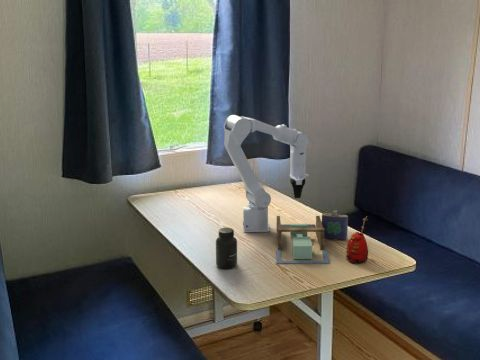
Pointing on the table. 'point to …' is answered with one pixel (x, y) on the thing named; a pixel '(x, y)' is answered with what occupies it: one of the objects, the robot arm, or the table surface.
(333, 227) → the flask
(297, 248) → the teal block
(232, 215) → the table surface
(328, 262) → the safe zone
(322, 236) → the tunnel
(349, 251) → the red clay folk toy
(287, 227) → the mat
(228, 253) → the supplement bottle
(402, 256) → the table surface
